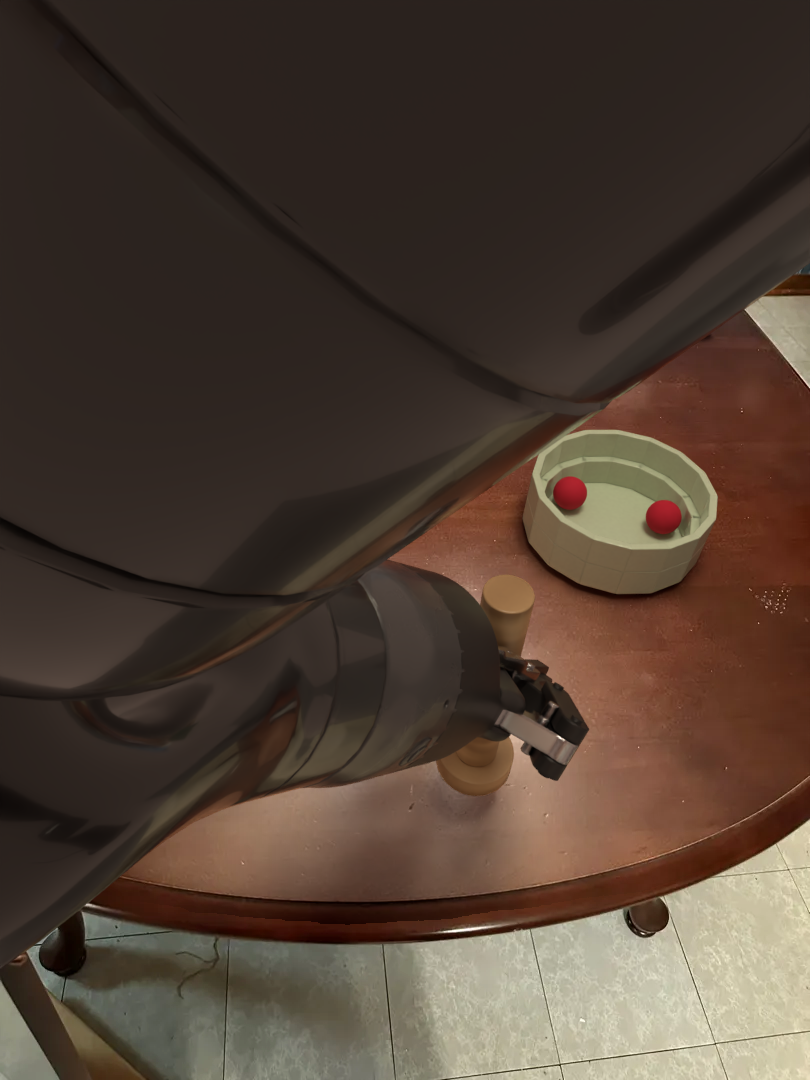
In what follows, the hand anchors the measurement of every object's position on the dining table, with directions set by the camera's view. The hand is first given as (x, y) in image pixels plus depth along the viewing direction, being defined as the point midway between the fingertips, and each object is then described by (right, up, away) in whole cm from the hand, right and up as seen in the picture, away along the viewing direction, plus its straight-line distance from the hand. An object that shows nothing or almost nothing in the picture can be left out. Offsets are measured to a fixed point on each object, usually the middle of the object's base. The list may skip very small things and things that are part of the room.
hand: (510, 664), depth 42 cm
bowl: (+11, +7, +23) cm, 27 cm away
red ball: (+8, +11, +23) cm, 27 cm away
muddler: (-2, -6, +4) cm, 8 cm away
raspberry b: (+15, +9, +22) cm, 28 cm away
